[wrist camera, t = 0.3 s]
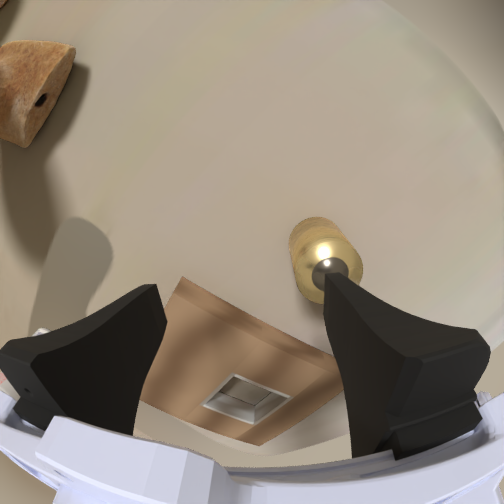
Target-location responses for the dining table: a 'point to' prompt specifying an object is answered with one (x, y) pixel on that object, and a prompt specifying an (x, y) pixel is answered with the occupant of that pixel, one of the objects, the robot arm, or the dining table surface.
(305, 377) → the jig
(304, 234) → the bushing
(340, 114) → the dining table surface
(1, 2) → the planter
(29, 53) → the stone cup
